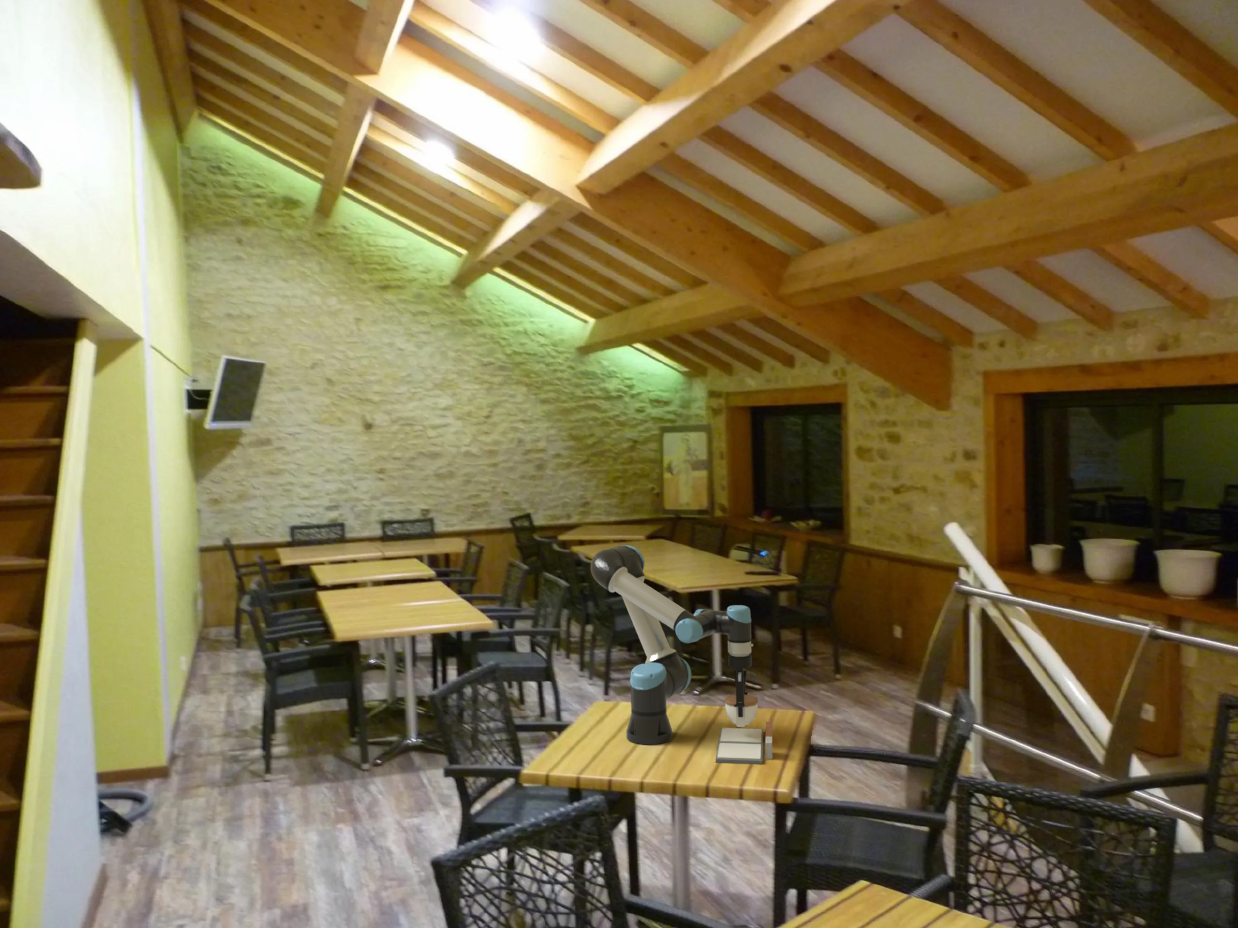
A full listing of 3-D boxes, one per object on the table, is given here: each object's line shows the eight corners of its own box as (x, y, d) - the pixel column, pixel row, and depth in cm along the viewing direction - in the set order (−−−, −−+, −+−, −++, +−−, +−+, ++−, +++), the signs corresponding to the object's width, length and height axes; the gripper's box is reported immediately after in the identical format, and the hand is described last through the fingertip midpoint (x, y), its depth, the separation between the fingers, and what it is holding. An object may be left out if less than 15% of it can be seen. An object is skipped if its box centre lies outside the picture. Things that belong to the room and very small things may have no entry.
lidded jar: (721, 725, 307) (720, 696, 307) (730, 715, 317) (729, 688, 317) (753, 728, 303) (753, 699, 303) (762, 718, 313) (761, 690, 312)
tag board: (715, 762, 289) (715, 746, 289) (721, 730, 319) (720, 715, 319) (772, 764, 286) (772, 747, 286) (772, 732, 316) (772, 717, 316)
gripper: (750, 662, 297) (752, 732, 298) (752, 645, 320) (753, 710, 321) (726, 662, 298) (728, 731, 299) (729, 645, 321) (731, 709, 322)
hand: (741, 720), depth 310 cm, fingers closed on lidded jar, 11 cm apart
